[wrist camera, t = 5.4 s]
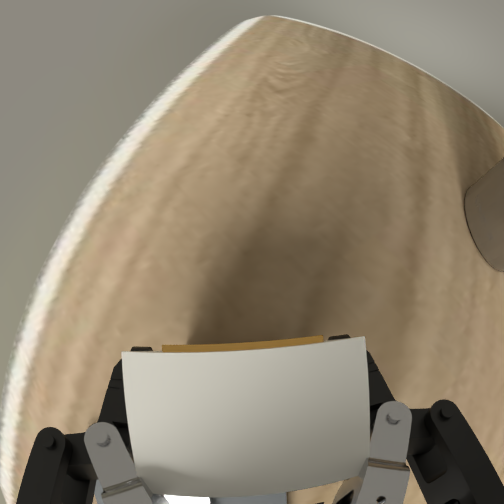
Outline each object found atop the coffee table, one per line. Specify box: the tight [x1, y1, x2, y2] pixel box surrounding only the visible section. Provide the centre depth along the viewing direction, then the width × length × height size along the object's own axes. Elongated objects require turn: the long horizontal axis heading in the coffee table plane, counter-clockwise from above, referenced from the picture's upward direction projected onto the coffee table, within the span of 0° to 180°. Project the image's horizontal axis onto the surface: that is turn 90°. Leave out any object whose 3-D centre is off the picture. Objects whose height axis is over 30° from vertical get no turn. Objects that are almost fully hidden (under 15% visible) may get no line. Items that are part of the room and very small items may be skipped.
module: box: [122, 335, 370, 497], centre depth 10 cm, size 6×4×9 cm
